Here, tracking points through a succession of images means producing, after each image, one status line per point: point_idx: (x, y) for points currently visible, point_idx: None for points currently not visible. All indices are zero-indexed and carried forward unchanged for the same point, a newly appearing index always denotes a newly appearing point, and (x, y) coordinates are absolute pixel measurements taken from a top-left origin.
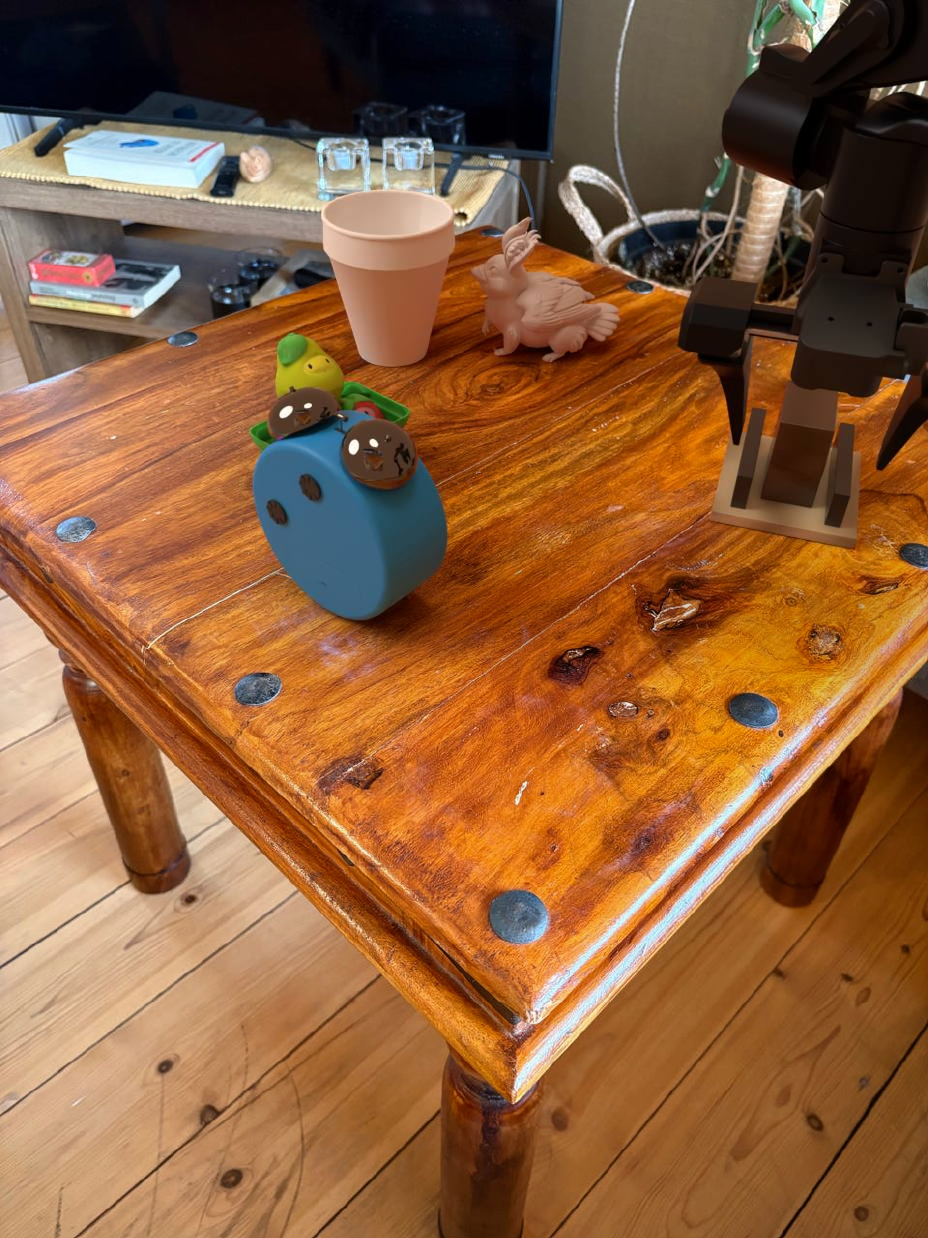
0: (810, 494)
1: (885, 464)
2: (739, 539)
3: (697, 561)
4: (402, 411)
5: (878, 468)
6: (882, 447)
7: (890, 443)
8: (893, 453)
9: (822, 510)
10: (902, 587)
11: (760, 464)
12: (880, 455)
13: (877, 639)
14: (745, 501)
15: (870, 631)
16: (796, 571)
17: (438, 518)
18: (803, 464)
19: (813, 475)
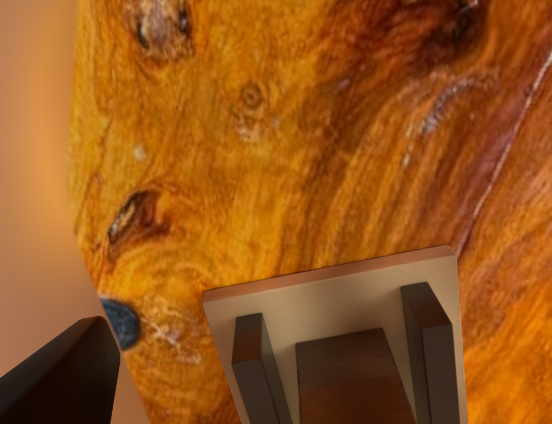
0: (304, 359)
1: (65, 333)
2: (385, 221)
3: (442, 120)
4: None
5: (92, 318)
6: (85, 391)
7: (20, 393)
8: (23, 367)
9: (276, 346)
10: (100, 237)
11: None
12: (86, 357)
13: (80, 75)
14: (407, 295)
15: (99, 91)
16: (269, 187)
17: None
18: (339, 400)
19: (312, 389)
